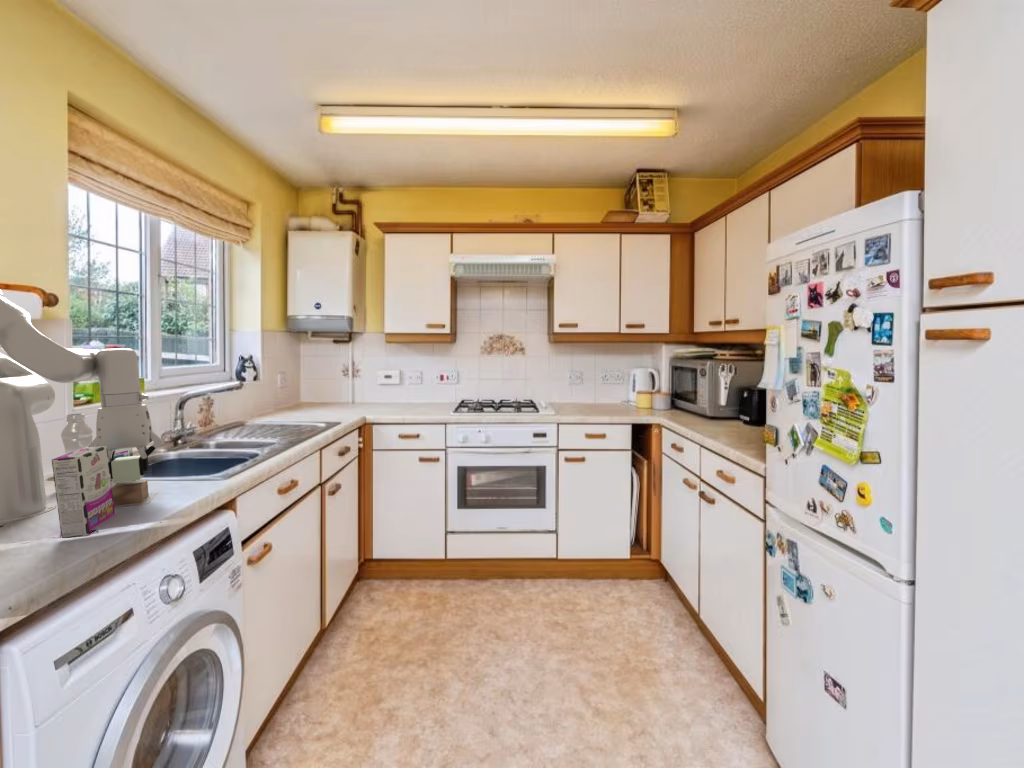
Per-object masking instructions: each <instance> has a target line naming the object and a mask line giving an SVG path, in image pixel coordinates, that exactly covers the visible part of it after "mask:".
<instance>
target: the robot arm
mask: <svg viewBox="0 0 1024 768" xmlns="http://www.w3.org/2000/svg"><path fill="white" fill-rule="evenodd" d="M31 321H32V316H31V314H30V313H29V312H28V311H26V310H25V309H24V308H22V307H20V306H18V305H17V304H15V303H13V302H11V301H10V300H8V299H7V298H6V297H4V293H3V292H2V289H0V349H1V350H3V352H4V353H5V354H6V355H5V354H3V353H1V352H0V527H1V526H6V525H7V524H9V523H10V522H13V521H19V520H25V519H28V518H32V517H36V516H40V515H43V514H46V513H48V512H50V511H53V510H55V509H56V508H57V504H55V503H51V502H47V495H46V493H47V492H46V486H45V485H46V484H45V476H44V469H43V468H44V467H43V465H44V464H43V459H42V457H43V456H42V449H41V441H40V440H41V439H40V433H39V429H38V427H37V425H36V422H35V420H34V418H33V416H36V415H39V414H41V413H43V412H45V411H47V410H49V409H50V408H51V407H52V406H53V404H54V402H55V400H56V399H55V398H56V393H55V389H54V388H53V386H52V385H51V384H50V382H48V380H50V381H52V382H56V383H60V384H69V383H70V384H72V383H76V382H77V383H79V382H86V381H92V380H98V386H99V396H100V397H99V398H100V407H99V408H97V412H96V413H97V414H96V424H95V425H96V428H95V429H96V430H95V432H96V433H95V435H96V436H95V438H94V439H92V443H91V444H90V445H89V446H88V447H96V446H107V451H108V459H109V468H110V476H111V479H113V476H112V466H111V462H112V461H113V460H115V458H114V455H115V451H116V449H125V448H132V449H133V448H136V450H137V451H138V455H140V459H139V466H140V475H141V476H142V475H144V476H145V475H146V474H147V473H148V471H150V465H149V457H150V455H151V454H152V453H153V452H155V450H156V449H158V448H159V447H160V446H161V445H162V444H164V440H163V439H162V438H161V437H159V436H158V434H156V433H155V432H153V426H152V422H151V416H150V412H149V409H148V406H147V404H146V403H145V404H143V402H144V401H146V400H148V401H149V394H148V393H147V394H144V393H142V391H141V386H140V385H141V384H140V374H139V364H138V355H137V354H138V353H137V352H136V351H135V350H134V349H132V348H105V349H89V348H66V347H65V346H63V345H61V344H59V343H58V342H56V341H55V340H52V339H51V338H49V337H47V336H46V335H45V334H43V333H42V332H40V331H39V330H38V329H36V328H35V327H34V325H33V324H32V322H31ZM46 379H47V380H46ZM152 442H153V444H152V445H151V446H149V447H147V446H148V445H150V443H152Z"/></svg>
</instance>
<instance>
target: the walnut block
mask: <svg viewBox="0 0 1024 768" xmlns="http://www.w3.org/2000/svg"><path fill="white" fill-rule="evenodd" d="M148 483H149V482H148V479H140V480H136V481H131V482H122V483H117V484H115V485H114V486H113V487H112V495H113V502H114V506H117V505H125V504H133V503H140V502H143V501H144V500H145V499H146V498H147V497H148V495H149V494H148V493H149V485H148Z"/></svg>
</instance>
